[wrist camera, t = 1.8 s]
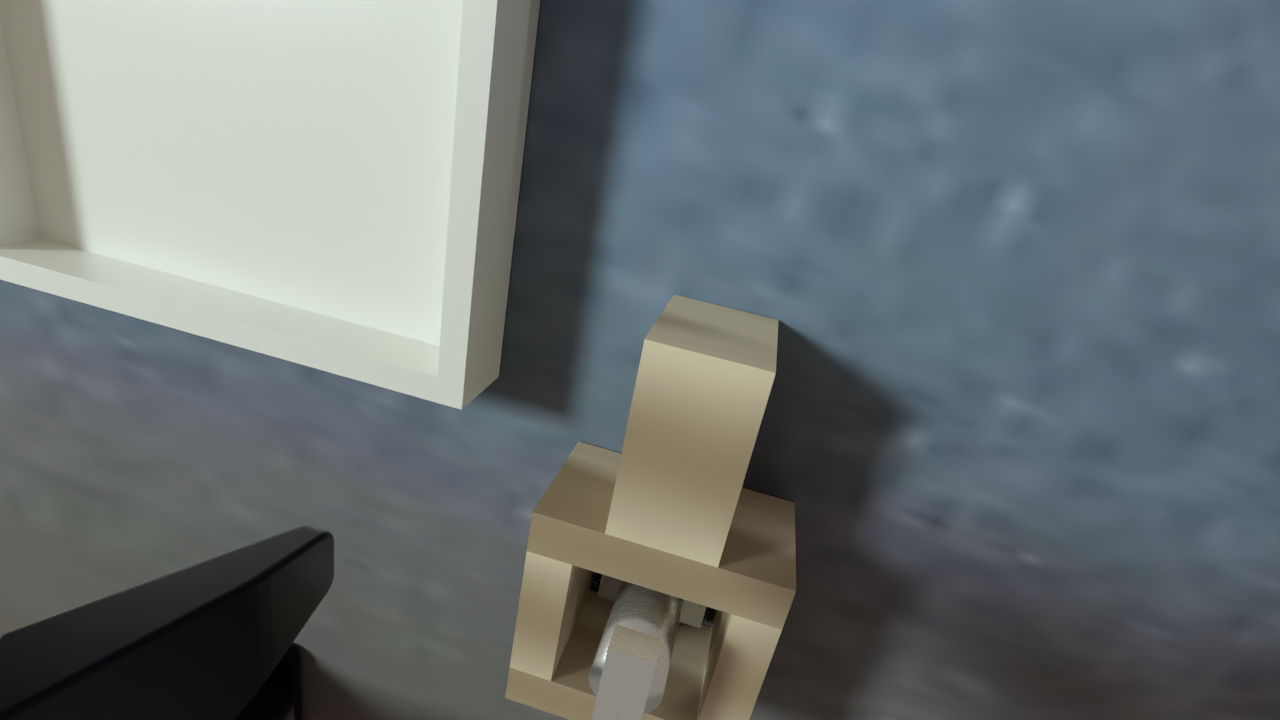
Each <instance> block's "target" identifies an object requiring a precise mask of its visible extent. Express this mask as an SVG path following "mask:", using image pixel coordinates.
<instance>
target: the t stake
mask: <svg viewBox="0 0 1280 720" xmlns="http://www.w3.org/2000/svg"><path fill="white" fill-rule="evenodd" d="M598 596H599V597H602V598H606V599H609V600H612V601H615V602H614V605H613V608H612V611H611V614H610V616H609V619H608V622H607V625H606V627H605V630H604V633H603V636H602V639H601V641H600V644H599V647H598V650H597V652H596V655H595V658H594V661H593V664H592V666H591V669H590V672H589V684H590V687H591V689H592V691H593V693H594V694H595V696H596V697H597V698H596V703H595V707H594V711H593V716H592V720H641V719H642V715H643V714H644V713H648V712H650V711H652V710H654V709H655V708H656V707H658V705H659V704H660V703H661V701H662V698H663V694H664V690H665V685H666V681H667V676H668V671H669V667H670V662H671V657H672V653H673V648H674V644H675V639H676V634H677V630H678V625H679V622H682V623H685V624H688V625H692V626H695V627H698V628H700V627H701V624H702V620H703V617H704V613H705V610H706V606H703V605H700V604H697V603H694V602H690V601H687V600H684V599H681V598H677V597H674V596H671V595H668V594H664V593H661V592H658V591H655V590H651V589H648V588H645V587H642V586H639V585H635V584H632V583H629V582H626V581H622V580H619V579H616V578H613V577H609V576H606V575H603V574H602V577H601V581H600V586H599V591H598Z"/></svg>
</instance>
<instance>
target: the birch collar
mask: <svg viewBox="0 0 1280 720" xmlns="http://www.w3.org/2000/svg"><path fill="white" fill-rule="evenodd" d="M777 341H778V320H776V319H772V318H768V317H764V316H760V315H756V314H751V313H747V312H743V311H739V310H735V309H731V308H727V307H723V306H719V305H715V304H711V303H707V302H703V301H699V300H695V299H690V298H686V297H682V296H678V295H673V296H672V298H671V300H670V301H669V303H668V304H667V306H666V307H665V309H664V310H663V312H662V313H661V315H660V316H659V318H658V320H657V321H656V323H655V324H654V326H653V327H652V329H651V330H650V332H649V333H648V335H647V336H646V338H645V340H644V345H643V350H642V355H641V360H640V365H639V369H638V374H637V379H636V384H635V389H634V394H633V399H632V404H631V409H630V413H629V418H628V423H627V428H626V433H625V438H624V443H623V448H622V453H617V452H614V451H610V450H607V449H603V448H600V447H596V446H593V445H589V444H586V443H582V442H578V443H577V444H576V446H575V448H574V449H573V451H572V452H571V454H570V455H569V457H568V458H567V460H566V461H565V463H564V464H563V466H562V467H561V469H560V471H559V472H558V474H557V475H556V477H555V478H554V480H553V481H552V483H551V484H550V486H549V487H548V489H547V491H546V492H545V494H544V495H543V497H542V498H541V500H540V501H539V503H538V504H537V506H536V507H535V509H534V511H533V512H532V519H531V526H530V533H529V539H528V546H527V553H526V560H525V567H524V573H523V580H522V587H521V594H520V601H519V608H518V614H517V621H516V628H515V635H514V642H513V648H512V655H511V662H510V669H509V676H508V683H507V689H506V696H505V698H507V699H510V700H513V701H516V702H519V703H522V704H525V705H528V706H530V707H533V708H536V709H539V710H542V711H545V712H548V713H551V714H554V715H557V716H560V717H563V718H566V719H568V720H592V716H593V711H594V707H595V703H596V698H597V697H596V696H595V694H594V693H593V691H592V689H591V687H590V684H589V672H590V669H591V666H592V664H593V661H594V658H595V655H596V652H597V650H598V647H599V644H600V641H601V639H602V636H603V633H604V630H605V627H606V625H607V622H608V619H609V616H610V614H611V611H612V608H613V605H614V602H615V601H612V600H609V599H606V598H602V597H599V596H598V592H596V591H593V590H590V585H591V580H592V575H593V572H596V573H600V574H603V575H606V576H609V577H613V578H616V579H619V580H622V581H626V582H629V583H632V584H635V585H639V586H642V587H645V588H648V589H651V590H655V591H658V592H661V593H664V594H668V595H671V596H674V597H677V598H681V599H684V600H687V601H690V602H694V603H697V604H700V605H703V606H706V607H710V608H713V609H716V613H715V616H714V620H713V623H712V626H711V627H708V626H705V625H702V624H701V627H700V628H698V627H695V626H692V625H688V624H685V623H682V622H679V625H678V630H677V634H676V639H675V644H674V648H673V653H672V657H671V662H670V667H669V671H668V676H667V681H666V685H665V690H664V694H663V698H662V701H661V703H660V704H659V705H658V707H656V708H655V709H654V710H652V711H650V712H648V713H644V714H643V715H642V719H641V720H749V719H750V716H751V713H752V711H753V708H754V705H755V703H756V700H757V697H758V694H759V692H760V689H761V686H762V683H763V681H764V678H765V675H766V672H767V670H768V667H769V664H770V662H771V659H772V656H773V653H774V651H775V648H776V645H777V642H778V640H779V637H780V634H781V632H782V629H783V626H784V623H785V621H786V618H787V615H788V612H789V610H790V607H791V604H792V601H793V599H794V596H795V593H796V548H795V502H791V501H787V500H784V499H780V498H777V497H773V496H770V495H766V494H763V493H759V492H756V491H752V490H748V489H745V488H742V485H743V482H744V478H745V475H746V472H747V468H748V465H749V462H750V458H751V455H752V452H753V448H754V445H755V441H756V438H757V435H758V431H759V428H760V425H761V421H762V418H763V415H764V411H765V408H766V405H767V401H768V398H769V395H770V391H771V388H772V384H773V381H774V378H775V374H776V361H777Z"/></svg>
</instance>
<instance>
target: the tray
mask: <svg viewBox="0 0 1280 720" xmlns="http://www.w3.org/2000/svg"><path fill="white" fill-rule="evenodd" d="M539 7H540V0H0V279H1V280H4V281H8V282H12V283H15V284H19V285H22V286H26V287H29V288H33V289H36V290H40V291H43V292H47V293H50V294H54V295H58V296H61V297H65V298H68V299H72V300H75V301H79V302H82V303H86V304H89V305H93V306H96V307H100V308H104V309H107V310H111V311H114V312H118V313H121V314H125V315H128V316H132V317H135V318H139V319H142V320H146V321H150V322H153V323H157V324H160V325H164V326H167V327H171V328H174V329H178V330H181V331H185V332H189V333H192V334H196V335H199V336H203V337H206V338H210V339H213V340H217V341H220V342H224V343H227V344H231V345H235V346H238V347H242V348H245V349H249V350H252V351H256V352H259V353H263V354H266V355H270V356H273V357H277V358H281V359H284V360H288V361H291V362H295V363H298V364H302V365H305V366H309V367H312V368H316V369H319V370H323V371H327V372H330V373H334V374H337V375H341V376H344V377H348V378H351V379H355V380H358V381H362V382H365V383H369V384H373V385H376V386H380V387H383V388H387V389H390V390H394V391H397V392H401V393H404V394H408V395H411V396H415V397H419V398H422V399H426V400H429V401H433V402H436V403H440V404H443V405H447V406H450V407H454V408H458V409H461V410H462V409H463V408H464V407H465V406H466V405H468V404H469V403H470V402H471V401H472V400H473V399H474V398H475V397H477V396H478V395H479V394H480V393H481V392H482V391H483V390H484V389H486V388H487V387H488V386H489V385H490V384H491V383H492V382H493V381H495V380H496V379H497V378H498V377H499V370H500V361H501V352H502V343H503V334H504V325H505V316H506V307H507V298H508V288H509V279H510V270H511V261H512V252H513V243H514V234H515V225H516V216H517V207H518V198H519V189H520V180H521V171H522V161H523V152H524V143H525V134H526V125H527V116H528V107H529V98H530V89H531V80H532V71H533V62H534V53H535V44H536V34H537V25H538V16H539Z"/></svg>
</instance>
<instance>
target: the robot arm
mask: <svg viewBox="0 0 1280 720" xmlns="http://www.w3.org/2000/svg"><path fill="white" fill-rule="evenodd" d="M333 577H334V538H333V536H332V534H331V533H330V532H329V531H326V530H323V529H319V528H316V527H313V526H309V525H305V526H300V527H297V528H295V529H292V530H289V531H286V532H284V533H281V534H278V535H275V536H273V537H270V538H267V539H264V540H262V541H259V542H256V543H254V544H251V545H248V546H245V547H243V548H240V549H237V550H234V551H232V552H229V553H226V554H223V555H221V556H218V557H215V558H212V559H210V560H207V561H204V562H201V563H199V564H196V565H193V566H190V567H188V568H185V569H182V570H179V571H177V572H174V573H171V574H168V575H166V576H163V577H160V578H157V579H155V580H152V581H149V582H146V583H144V584H141V585H138V586H135V587H133V588H130V589H127V590H124V591H122V592H119V593H116V594H113V595H111V596H108V597H105V598H103V599H100V600H97V601H94V602H92V603H89V604H86V605H83V606H81V607H78V608H75V609H72V610H70V611H67V612H64V613H61V614H59V615H56V616H53V617H50V618H48V619H45V620H42V621H39V622H37V623H34V624H31V625H28V626H26V627H23V628H20V629H17V630H15V631H12V632H9V633H6V634H4V635H3V636H2V637H1V638H0V720H301V701H300V669H299V655H298V652H297V651H296V650H295V649H294V648H293V647H292V646H290V645H291V644H292V643H293V641H294V640H295V638H296V637H297V635H298V634H299V632H300V631H301V629H302V628H303V627H304V625H305V624H306V622H307V621H308V619H309V618H310V616H311V615H312V614H313V612H314V611H315V609H316V608H317V606H318V605H319V603H320V602H321V600H322V599H323V598H324V596H325V595H326V593H327V592H328V590H329V588H330V586H331V584H332V581H333Z"/></svg>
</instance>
